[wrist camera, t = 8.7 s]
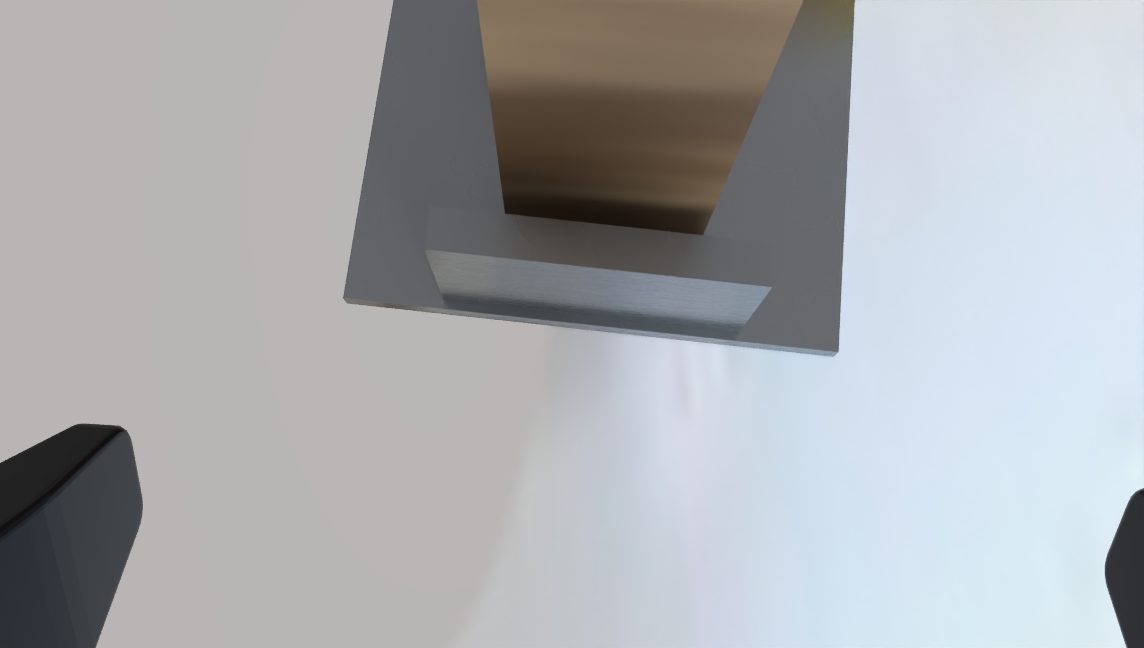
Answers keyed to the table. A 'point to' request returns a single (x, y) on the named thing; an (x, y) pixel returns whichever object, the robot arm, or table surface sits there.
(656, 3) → the brown wooden block
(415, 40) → the clip
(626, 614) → the table surface
